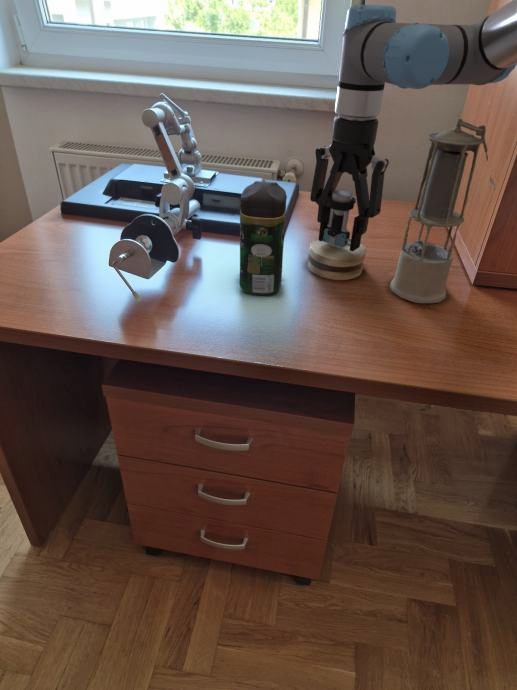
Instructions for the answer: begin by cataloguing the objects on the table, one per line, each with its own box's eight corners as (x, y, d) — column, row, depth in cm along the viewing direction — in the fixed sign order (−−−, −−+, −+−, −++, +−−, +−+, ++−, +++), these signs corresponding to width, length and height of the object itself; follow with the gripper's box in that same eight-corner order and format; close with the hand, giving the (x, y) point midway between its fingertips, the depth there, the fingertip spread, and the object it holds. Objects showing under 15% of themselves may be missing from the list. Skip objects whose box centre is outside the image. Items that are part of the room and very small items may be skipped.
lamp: (387, 275, 95) (423, 111, 78) (453, 281, 94) (505, 116, 77) (393, 301, 87) (434, 124, 69) (466, 307, 86) (527, 129, 68)
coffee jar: (242, 271, 94) (244, 176, 83) (282, 274, 94) (289, 179, 83) (235, 295, 86) (236, 194, 76) (279, 299, 86) (286, 197, 75)
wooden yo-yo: (372, 266, 98) (376, 246, 96) (345, 286, 91) (348, 265, 88) (325, 250, 104) (327, 230, 101) (295, 268, 96) (297, 247, 94)
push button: (359, 244, 94) (368, 194, 89) (346, 253, 91) (355, 202, 85) (329, 235, 97) (337, 186, 92) (316, 243, 94) (323, 193, 88)
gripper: (419, 121, 78) (392, 251, 92) (320, 106, 88) (308, 225, 101) (400, 128, 73) (374, 264, 87) (297, 110, 83) (288, 236, 96)
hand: (338, 243), depth 94 cm, fingers closed on push button, 6 cm apart
